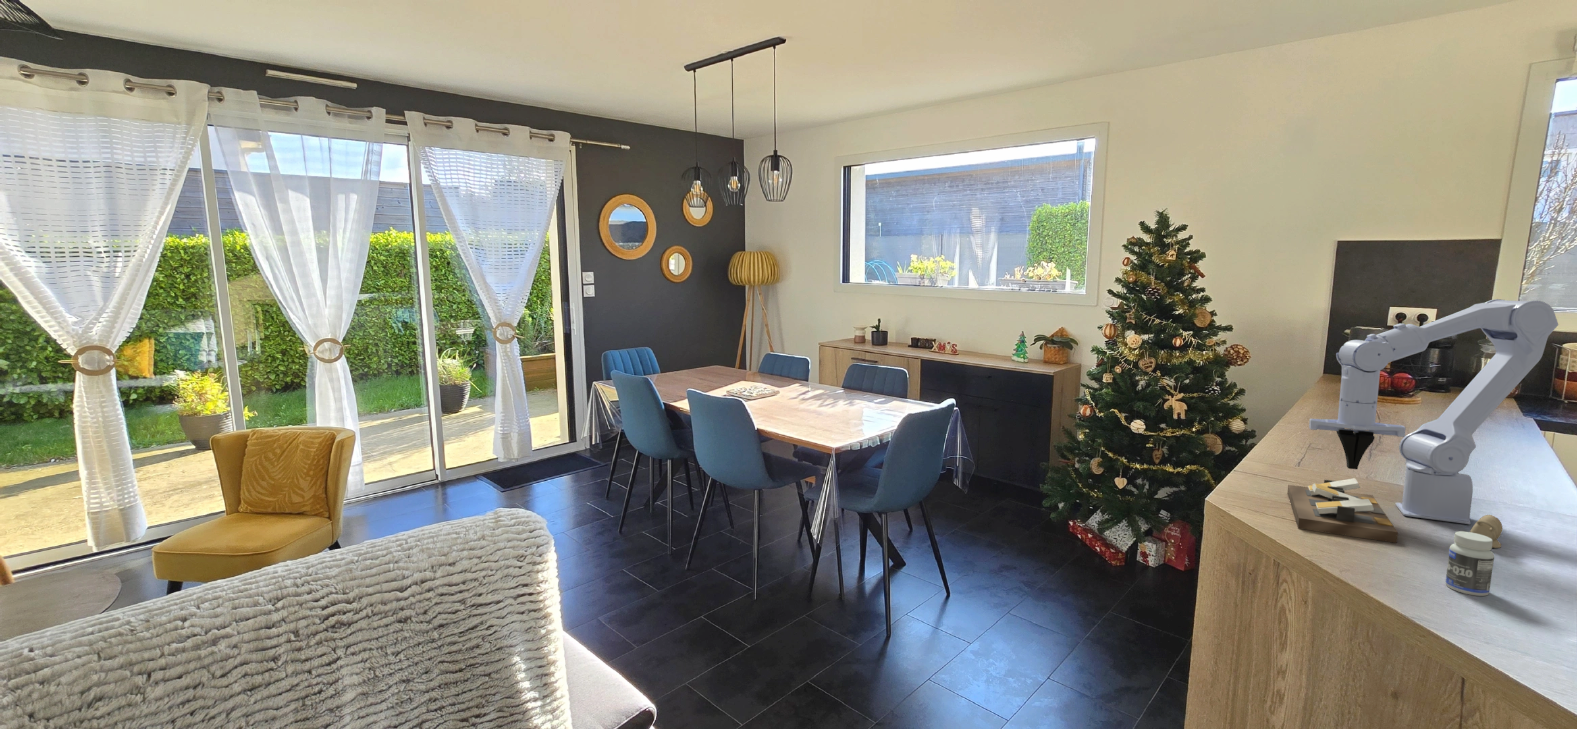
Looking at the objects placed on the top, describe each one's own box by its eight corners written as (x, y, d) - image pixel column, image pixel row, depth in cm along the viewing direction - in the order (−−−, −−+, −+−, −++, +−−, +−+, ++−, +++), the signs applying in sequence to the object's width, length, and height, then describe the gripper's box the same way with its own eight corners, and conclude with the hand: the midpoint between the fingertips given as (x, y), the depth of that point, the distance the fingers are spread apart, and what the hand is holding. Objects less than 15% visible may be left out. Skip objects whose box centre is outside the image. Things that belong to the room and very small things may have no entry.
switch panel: (1371, 504, 139) (1373, 482, 139) (1396, 542, 119) (1399, 517, 119) (1287, 493, 147) (1289, 473, 146) (1298, 528, 127) (1300, 504, 126)
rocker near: (1369, 504, 126) (1368, 498, 126) (1373, 510, 123) (1372, 504, 123) (1316, 507, 130) (1315, 502, 130) (1319, 513, 127) (1317, 508, 127)
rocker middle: (1360, 504, 132) (1362, 499, 132) (1363, 510, 129) (1366, 505, 129) (1311, 487, 136) (1314, 482, 136) (1314, 492, 133) (1316, 487, 133)
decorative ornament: (1504, 542, 119) (1508, 513, 118) (1494, 554, 114) (1497, 523, 114) (1472, 535, 122) (1475, 507, 122) (1461, 546, 117) (1464, 517, 117)
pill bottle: (1436, 583, 104) (1442, 530, 103) (1464, 581, 104) (1470, 529, 103) (1469, 597, 99) (1476, 542, 98) (1499, 596, 99) (1505, 541, 98)
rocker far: (1356, 482, 138) (1354, 477, 138) (1360, 487, 134) (1358, 482, 135) (1309, 490, 142) (1307, 485, 142) (1311, 495, 139) (1309, 490, 139)
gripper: (1315, 401, 134) (1309, 467, 135) (1412, 407, 126) (1405, 477, 128) (1309, 395, 140) (1304, 459, 141) (1402, 401, 132) (1395, 468, 134)
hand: (1352, 467), depth 135 cm, fingers closed
